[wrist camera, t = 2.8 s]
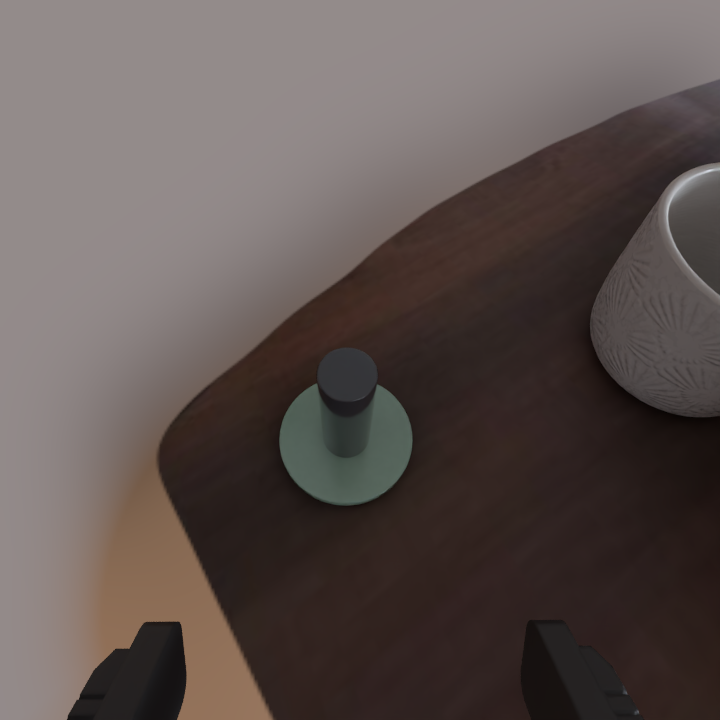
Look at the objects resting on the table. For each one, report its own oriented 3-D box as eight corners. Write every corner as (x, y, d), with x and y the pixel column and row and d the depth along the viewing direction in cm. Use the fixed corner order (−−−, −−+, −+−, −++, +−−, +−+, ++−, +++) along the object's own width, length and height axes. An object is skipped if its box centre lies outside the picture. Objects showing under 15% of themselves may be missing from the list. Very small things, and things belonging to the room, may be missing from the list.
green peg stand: (288, 519, 27) (266, 474, 19) (275, 394, 31) (251, 313, 23) (424, 495, 28) (456, 442, 20) (395, 376, 32) (412, 292, 24)
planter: (790, 374, 33) (972, 270, 23) (678, 474, 29) (841, 399, 20) (645, 258, 38) (748, 133, 28) (534, 331, 34) (608, 215, 24)
